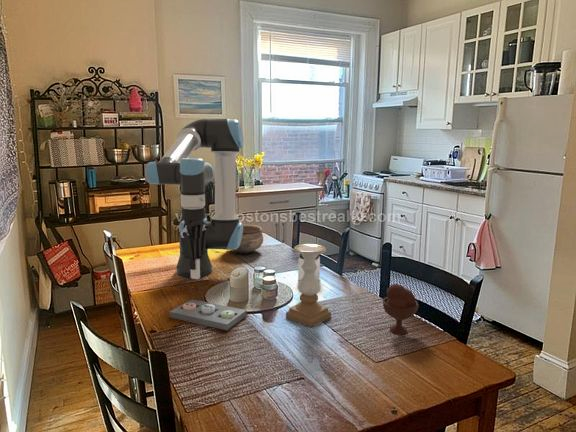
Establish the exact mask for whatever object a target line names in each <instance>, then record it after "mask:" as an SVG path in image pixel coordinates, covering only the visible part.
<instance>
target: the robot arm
mask: <svg viewBox="0 0 576 432" xmlns="http://www.w3.org/2000/svg"><path fill="white" fill-rule="evenodd" d="M200 148H208V149H210V152H211V153H212V155H213V156H214V167H213V166H212V165H211V163H209V162H206V161H205V160H204V159H203V158H202V157H201V158H200V157H199V158H198V157H191V155H192V154H193V152H195V151H196V150H198V149H200ZM243 148H244V134H243V128H242V124H241V122H240V121H239V120H237V119H233V118H232V119H231V118H200V119H197V120H194V121H193V122H190V123H188V124H187V125H185V126H183V128H181V129H180V131H179V132H178V133H177V138H176V140H175V141H174V142H173V143H172V145H171V146H170V148H169V149H167V151H166V152H165V153H164V155H163V156H162V157H161V159H160V160H159V161H149V162H147V163H146V166H145V169H144V173H145V179H146V182H147V183H149V184H150V185H152V184H153V185H180V206H181V219H182V221H180V222H179V225H178V237H179V238H178V239H179V257H178V261H177V265H176V274H177V276H181V277H186V278H190V279H193V280H200V279H201V277H203V276H208V275H210V274H211V273H213V265H212V262H211V259H210V257H209V254H208V253H209V252H208V250H226V251H229V250H230V251H231V250H232V251H234V249H237V248H238V247H239V246H240V243H241V239H242V234H243V225H244V224H243V222H241V221H240V217H239V216H238V214H236V194H237V193H236V189H237V188H236V185H237V183H236V177H237V176H236V175H237V173H236V172H237V168H236V163H237V161H236V160H237V159H236V158H237V156H238V155H239V154H240V149H241V150H242V149H243ZM213 179H214V214H213V215H212V217H211V220H210V221H208V218H207V215H206V208H205V206H206V185H208V184H209V183H211V181H212V180H213Z"/></svg>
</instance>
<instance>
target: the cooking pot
mask: <svg viewBox="0 0 576 432" xmlns="http://www.w3.org/2000/svg"><path fill="white" fill-rule="evenodd" d="M262 230H263V228H262V227H261V225H260V226H259V225H255V224H243V234H242V239H241V243H240V246H239V247H238V248H237V249H234V250H233V252H236V253H238V254H240V255H249V254H251V253H253V252H255V251H256V250H258V249H259V248H260V247H261V246H262V245H263V242H264V235H263V233H262Z"/></svg>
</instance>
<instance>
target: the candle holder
mask: <svg viewBox="0 0 576 432" xmlns="http://www.w3.org/2000/svg"><path fill="white" fill-rule="evenodd" d="M326 249H327V248H326V247H325V246H324V245H320V244H315V243H303V244H301V243H300V244H297V245H295V246H294V247H293V250H294V252H295V253H296V254H302V256H303V258H304V263H303V265H302V269H303V271H304V276H303V278H302V279H301V280H299V283H298V285H297V290H298V292H299V293H301V294H300V295H299V302H298V303H296V304H295V305H293V306H291V307H289V309H288V311H286V312H285V318H286V319H289V320H291V321H294V322H295V323H298V324H301V325H303V326H306V327H308V328H312V327H314V326H316V325H319V324H321V323H323V322H325V321H327V320H329V319H330V318H332V312H331V311H329V308H328V307H327V306H324V305H322V304H320V303H319V302H318V300H319V296H318V293H319V292H320V290H321V285H320V282H319V279H318V280H317V279H316V277H315V274H314V273H315V271H316V269H317V265H316V263H315V259H316V257H317V256H318V254H319V255H322V254H324V253H325V252H326V251H327V250H326Z"/></svg>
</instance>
